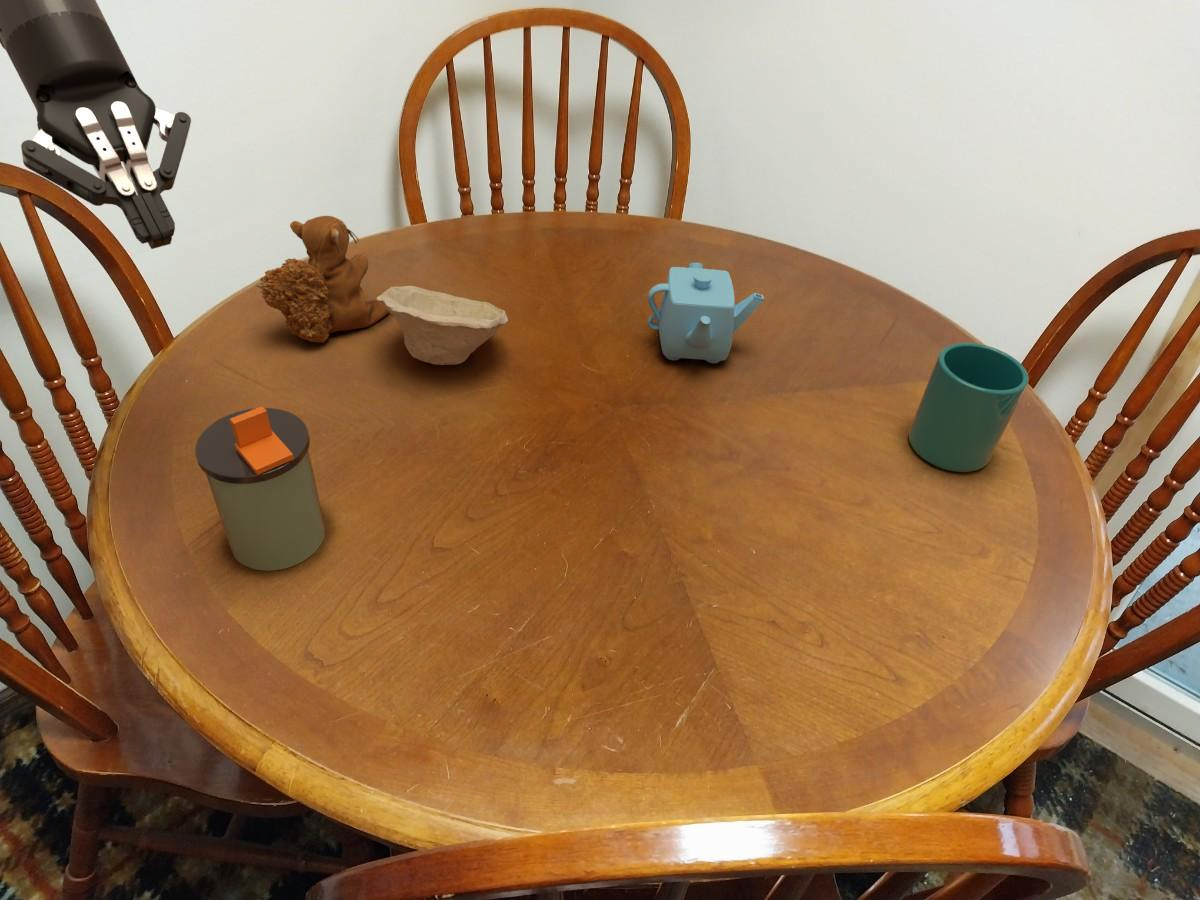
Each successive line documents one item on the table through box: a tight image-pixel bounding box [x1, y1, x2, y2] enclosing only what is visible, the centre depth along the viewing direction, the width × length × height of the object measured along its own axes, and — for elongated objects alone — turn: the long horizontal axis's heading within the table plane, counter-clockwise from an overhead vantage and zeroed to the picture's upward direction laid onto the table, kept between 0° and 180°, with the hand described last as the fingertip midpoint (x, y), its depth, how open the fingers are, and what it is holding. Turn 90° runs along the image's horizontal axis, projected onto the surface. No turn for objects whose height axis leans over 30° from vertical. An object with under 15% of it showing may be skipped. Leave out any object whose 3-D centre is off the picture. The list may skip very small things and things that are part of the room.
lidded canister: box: [194, 407, 326, 572], centre depth 75 cm, size 9×9×12 cm
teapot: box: [647, 261, 765, 364], centre depth 104 cm, size 18×14×10 cm
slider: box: [230, 405, 294, 475], centre depth 69 cm, size 4×3×3 cm
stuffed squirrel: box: [255, 215, 390, 344], centre depth 102 cm, size 10×14×13 cm
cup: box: [908, 342, 1029, 473], centre depth 93 cm, size 9×12×11 cm
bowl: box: [376, 285, 509, 366], centre depth 99 cm, size 15×14×10 cm
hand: (162, 242), depth 67 cm, fingers closed
